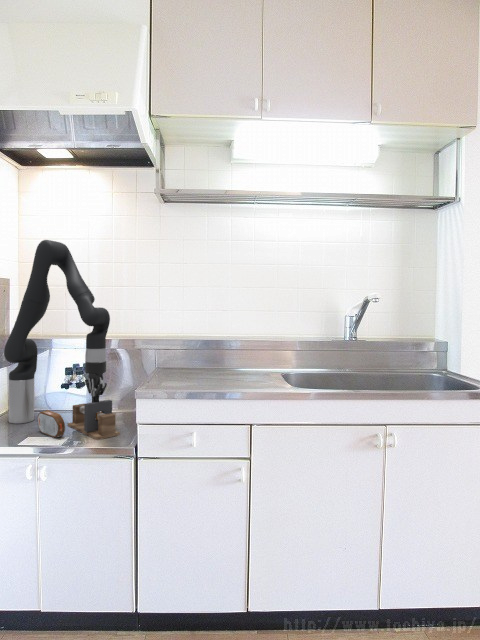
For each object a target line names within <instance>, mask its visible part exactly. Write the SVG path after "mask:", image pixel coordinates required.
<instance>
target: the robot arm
mask: <svg viewBox="0 0 480 640" xmlns="http://www.w3.org/2000/svg"><path fill="white" fill-rule="evenodd" d="M51 266H57V267H58V268H59V269H60V270H61V272H63V274H64V277H65V280H66V289H67V291H68V294H69V296H70V297H71V298H72V300H73V301H74V303H75V304H76V307H77V310H78V313H79V316H80V319H81V320H82V322H83V323H84V324H85V325H86V326H88V327H92V330H91V331H90V332H89V333H87V334H86V338H85V340H86V341H85V347H86V349H85V355H84V359H85V360H84V361H85V362H84V365H85V367H84V369H85V370H84V373H86V374H88V376H87V378H86V379H85V380H84V383H85V386H86V389H87V392H88V394H90V396H91V403H93V402H99V401H100V396H102V395H103V394H104V392H105V390H106V387H108V383H106V382H104V375H103V374H105V373H107V349H106V345H107V341H106V340H107V334H108V330H109V326H110V323H111V316H110V313H109V310H108V309H106V308H105V307H96V306H94V305H93V304H94V302H95V300H96V298H95V296H94V294H93V293H92V290H90V288H89V286H88V285H87V284H86V282H85V280H84V279H83V277H82V275H81V273H80V271H79V269H78V267H77V265H76V262H75V260H74V258H73V254H72V253H71V251H70V249H69V248H68V246H67V245H66V244H65V243H62V242H61V241H55V240H50V239H43V240H41V241H40V242H39V243H38V244H37V246H36V249H35V253H34V258H33V263H32V268H31V272H30V275H29V276H30V277H29V280H28V282H27V285H26V289H25V292H24V294H23V297H22V301H21V303H20V307H19V311H18V314H17V317H16V319H15V322H14V325H13V327H12V329H11V332H10V334H9V336H8V339H6V343H5V345H4V350H3V354H4V358H5V360H6V361H7V362H8V363H11V364H16V363H17V366H16V367H15V368H14V369H13V370H11V371H9V374H8V423H10V424H26V423H31V422H33V421H34V420H35V375H36V372H37V367H38V346H37V342H35V340H33V339H30V338H28V337H29V334H30V332H31V331H32V330H33V329H34V328H35V326H36V325H37V324H39V322H41V320H42V319H43V317H44V316H45V314H46V312H47V310H48V306H49V304H50V300H51V294H50V289H49V285H48V283H49V282H48V276H49V272H50V269H51Z"/></svg>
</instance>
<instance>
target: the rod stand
mask: <svg viewBox="0 0 480 640" xmlns="http://www.w3.org/2000/svg"><path fill="white" fill-rule="evenodd" d="M85 404H86V403H78V404H73V405H72V414H71V415H72V417H71V419H72V422H67V427H69V428H71V429H74V430H75V431H77V432H79V433H82V434H84V435H86V436H88V437H89V438H92V439H94V440H96V441H99V440H103V439H108V438H112V437H116V436H120V435H121V434H120V433H121V432H120V431H118V430H116V414H114V413H112V414H111V413H110V414H104V413H103V412H96V420H98V430H94V431H89V432H86V431H84V408H85Z"/></svg>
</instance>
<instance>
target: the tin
mask: <svg viewBox="0 0 480 640" xmlns="http://www.w3.org/2000/svg"><path fill="white" fill-rule="evenodd" d="M37 427H38V429H39V431H40V432H41V433H42V434H44V435H47V436H49V437H52V438H55V439H56V438H59V437H62V436H64V435H65V431H66V423H65V420H64V417H62V415H61V414H59V413H58V412H54V411H51V410H48V409H46V410H43V411H40V412H39V413H38V414H37Z"/></svg>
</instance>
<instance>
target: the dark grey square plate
mask: <svg viewBox="0 0 480 640" xmlns="http://www.w3.org/2000/svg"><path fill="white" fill-rule="evenodd" d="M84 404H85V408H84V431H86V432H89V431H94V430H98V420H96V412H103V413H104V414H110V413H111V414H113V400H111V399H107V400H99V402H93V403H92V402H87V403H84Z"/></svg>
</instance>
